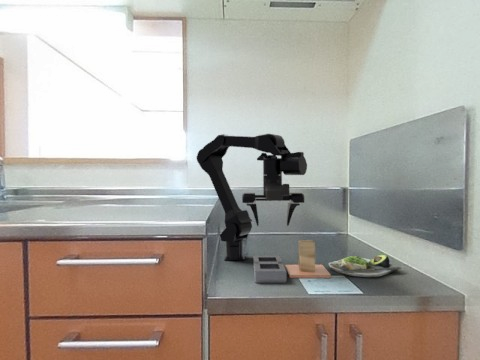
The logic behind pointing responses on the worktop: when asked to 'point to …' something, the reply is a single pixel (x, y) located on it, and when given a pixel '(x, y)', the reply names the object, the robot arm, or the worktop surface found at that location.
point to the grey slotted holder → (269, 269)
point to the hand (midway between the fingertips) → (272, 225)
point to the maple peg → (306, 255)
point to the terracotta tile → (307, 272)
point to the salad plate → (364, 266)
